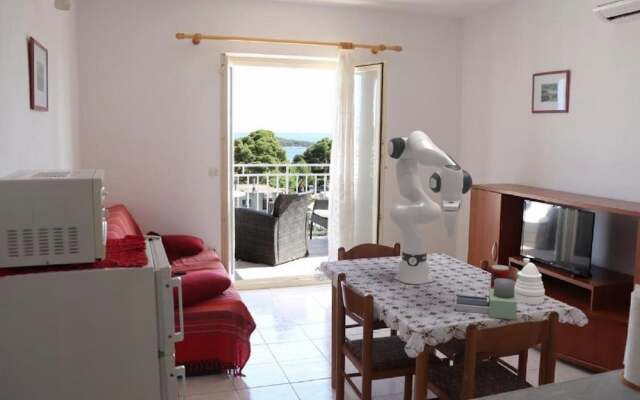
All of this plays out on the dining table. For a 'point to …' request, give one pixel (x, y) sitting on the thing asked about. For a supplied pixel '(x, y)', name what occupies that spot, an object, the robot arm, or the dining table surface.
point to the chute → (472, 300)
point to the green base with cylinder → (497, 301)
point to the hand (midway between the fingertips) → (450, 235)
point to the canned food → (498, 273)
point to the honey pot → (529, 285)
